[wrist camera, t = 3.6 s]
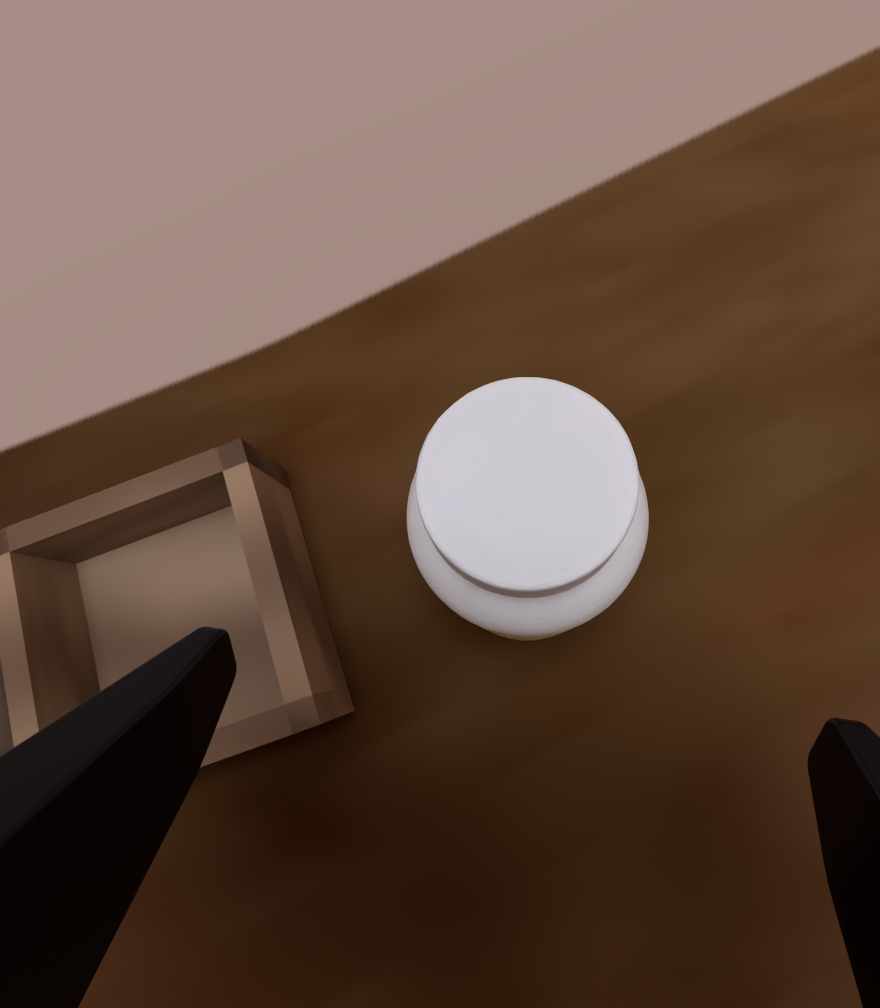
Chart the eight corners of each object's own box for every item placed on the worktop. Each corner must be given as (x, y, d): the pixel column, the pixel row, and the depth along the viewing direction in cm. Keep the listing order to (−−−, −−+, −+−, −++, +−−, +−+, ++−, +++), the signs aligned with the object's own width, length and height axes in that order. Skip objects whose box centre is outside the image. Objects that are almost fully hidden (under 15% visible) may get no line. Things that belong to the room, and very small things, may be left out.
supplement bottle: (629, 616, 19) (730, 591, 10) (464, 659, 20) (415, 672, 10) (578, 458, 21) (626, 307, 11) (424, 501, 21) (350, 387, 12)
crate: (354, 710, 20) (320, 724, 16) (-105, 875, 20) (-230, 920, 17) (284, 469, 22) (240, 437, 19) (-130, 626, 23) (-246, 623, 19)
